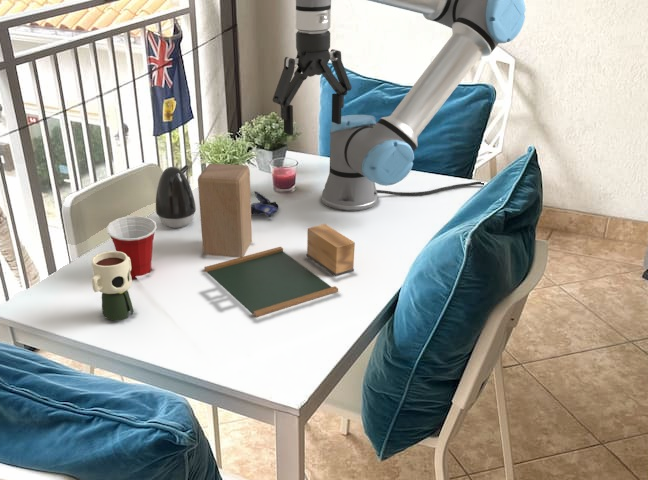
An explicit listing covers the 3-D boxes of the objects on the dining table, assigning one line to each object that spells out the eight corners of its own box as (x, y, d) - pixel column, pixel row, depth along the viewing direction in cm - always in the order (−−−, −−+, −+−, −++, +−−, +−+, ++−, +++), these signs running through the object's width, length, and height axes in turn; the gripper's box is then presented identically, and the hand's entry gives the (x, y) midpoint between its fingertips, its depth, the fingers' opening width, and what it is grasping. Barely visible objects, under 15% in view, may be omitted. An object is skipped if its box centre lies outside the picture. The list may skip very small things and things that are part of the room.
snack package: (254, 201, 194) (224, 213, 187) (256, 180, 190) (227, 191, 183) (286, 219, 189) (257, 232, 181) (290, 197, 185) (260, 210, 177)
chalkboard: (280, 253, 167) (280, 246, 166) (338, 295, 149) (338, 288, 148) (204, 273, 158) (204, 266, 157) (256, 321, 141) (256, 313, 140)
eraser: (324, 254, 166) (325, 223, 162) (353, 274, 157) (355, 242, 153) (306, 259, 164) (306, 228, 159) (335, 280, 155) (336, 247, 151)
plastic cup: (119, 289, 153) (112, 239, 146) (109, 268, 161) (101, 220, 155) (167, 279, 156) (162, 230, 150) (154, 259, 165) (149, 212, 158)
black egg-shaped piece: (205, 222, 182) (201, 165, 174) (176, 235, 176) (170, 177, 168) (178, 212, 188) (173, 157, 180) (149, 225, 181) (142, 168, 173)
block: (243, 261, 163) (240, 179, 153) (202, 257, 165) (196, 176, 154) (252, 243, 172) (250, 164, 161) (213, 240, 173) (208, 161, 162)
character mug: (114, 332, 138) (104, 274, 131) (87, 323, 141) (76, 265, 134) (148, 307, 146) (141, 251, 139) (122, 299, 149) (114, 244, 142)
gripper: (273, 40, 143) (276, 142, 155) (369, 25, 154) (364, 122, 166) (254, 35, 148) (258, 134, 160) (348, 21, 159) (345, 115, 171)
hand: (312, 128), depth 163 cm, fingers open, 13 cm apart
